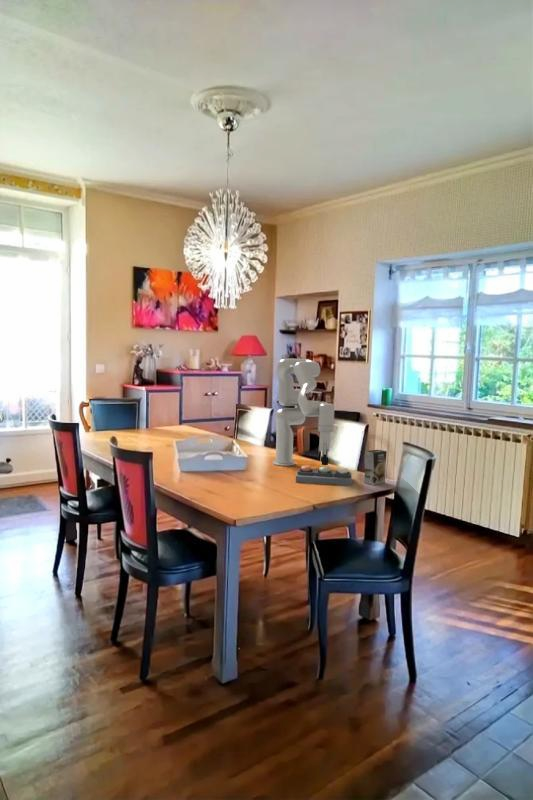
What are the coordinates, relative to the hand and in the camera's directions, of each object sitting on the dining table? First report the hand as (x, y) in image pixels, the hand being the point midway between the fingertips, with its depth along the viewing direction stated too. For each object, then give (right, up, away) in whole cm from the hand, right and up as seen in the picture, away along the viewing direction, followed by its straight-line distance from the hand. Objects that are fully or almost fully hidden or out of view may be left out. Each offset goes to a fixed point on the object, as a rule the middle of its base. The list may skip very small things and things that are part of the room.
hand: (324, 464), depth 264 cm
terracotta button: (-9, -3, +2) cm, 10 cm away
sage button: (0, -4, +1) cm, 4 cm away
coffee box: (+25, -9, -1) cm, 26 cm away
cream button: (+9, -4, -1) cm, 10 cm away
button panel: (0, -8, +1) cm, 8 cm away
